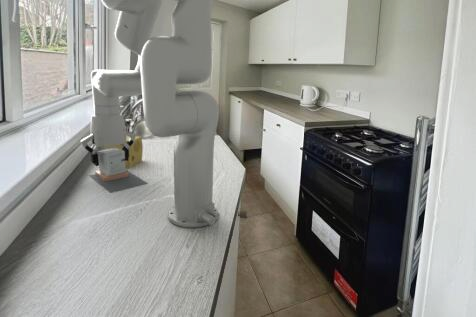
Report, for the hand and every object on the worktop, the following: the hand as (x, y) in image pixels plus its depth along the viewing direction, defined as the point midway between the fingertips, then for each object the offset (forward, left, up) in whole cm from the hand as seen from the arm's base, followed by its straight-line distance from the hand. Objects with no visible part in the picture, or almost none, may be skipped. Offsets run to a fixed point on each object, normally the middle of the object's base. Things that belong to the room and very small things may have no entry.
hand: (111, 162), depth 101 cm
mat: (-4, 0, -5) cm, 7 cm away
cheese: (+12, -9, -5) cm, 16 cm away
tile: (-4, 0, -4) cm, 6 cm away
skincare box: (0, 0, -4) cm, 4 cm away
